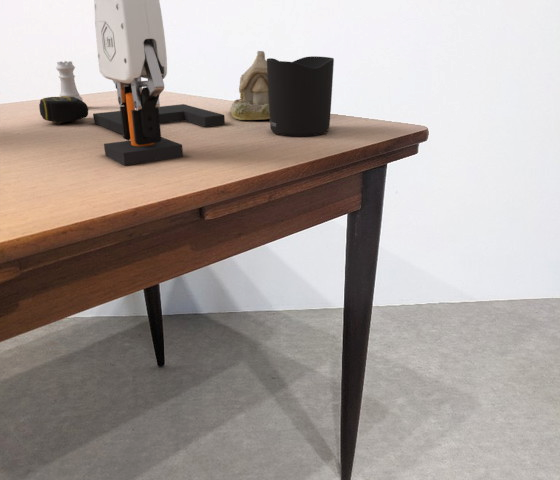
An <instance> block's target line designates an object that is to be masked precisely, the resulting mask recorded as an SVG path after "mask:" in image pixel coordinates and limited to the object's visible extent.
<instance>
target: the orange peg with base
mask: <svg viewBox="0 0 560 480" xmlns="http://www.w3.org/2000/svg"><path fill="white" fill-rule="evenodd" d="M140 94H141V92H140ZM126 103H127V112H128V121H129V130H130V139H131V140H123V141H122V140H121V141H115V142H106V143H103V148H104V155H105V157H107V158H109V159H111V160H113V161H114V162H117V163H119V164H121V165H123V166H125V167H126V166H131V165H132V166H133V165H137V164H145V163H151V162H157V161H164V160H170V159H176V158H182V157H184V152H183V150H184V149H183V144H181V143H179V142H177V141H174V140H171V139H169V138H165V137H163V136H161V141H160V142H157V143H149V144H142V145H138V144H136V143H135V138H134V129H133V120H132V111H131V110H135V108H134V102H133V95H132V93H127V94H126Z"/></svg>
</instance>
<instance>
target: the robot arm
mask: <svg viewBox="0 0 560 480" xmlns="http://www.w3.org/2000/svg"><path fill="white" fill-rule="evenodd" d="M93 8H94V26H95V27H94V28H95V38H96V49H97V50H96V51H97V59H98V60H97V62H98V69H99V73H100V74H101V75H102V77H104V78H105V79H107V80H111V81H112V82H113V84H114V87H115V89H116V92H117V93H116V94H117V102H118V105H119V111H120V113H121V121H122V130H123V135H122V137H123V139H124V140H125V141H129V140H131V139H130V130H129V121H128V112H127V103H126V94H127V93H132V95H133V102H134V108H135V110H131V111H132V120H133V129H134V138H135V143H136V144H138V145H142V144H149V143H157V142H160V141H161V137H162V132H161V124H160V119H159V107H161V105H160V95H161V94H162V92H163V91H164V90H165V82H164V79H165V78H166V77H167V74H168V58H167V56H168V55H167V45H166V37H165V27H164V21H163V15H162V9H161V3H160V0H94V7H93ZM142 78H143V79H147V80H142ZM140 92H141V94H140Z"/></svg>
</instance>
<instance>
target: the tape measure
mask: <svg viewBox="0 0 560 480" xmlns="http://www.w3.org/2000/svg"><path fill="white" fill-rule="evenodd" d="M38 105H39V106H38V107H39V114H40V116H41V118H42V119H43V120H44V121H47V122H53V124H56V125H60V124H62V123H66V122H73V121H74V122H76V121H78V120H81V119H86V118H87V117H88V115H89V107H88V105H87V104H86V102H85V101H81V100H79V99H77V98H75V97H60V96H47V97H43V98H41V99H40V101H39V103H38Z"/></svg>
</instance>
